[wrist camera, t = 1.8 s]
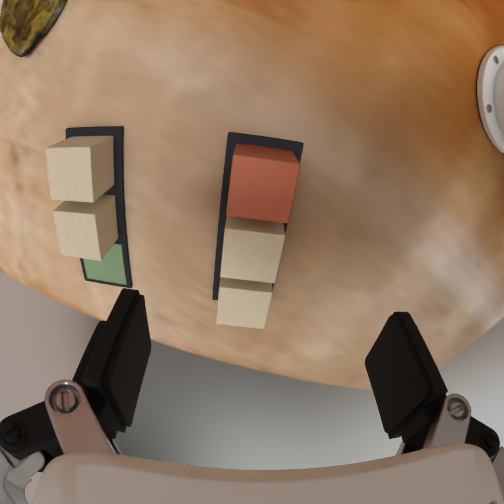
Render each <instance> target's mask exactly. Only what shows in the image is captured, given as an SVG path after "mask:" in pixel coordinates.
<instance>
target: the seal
mask: <svg viewBox="0 0 504 504" xmlns="http://www.w3.org/2000/svg"><path fill="white" fill-rule="evenodd" d="M65 2H66V0H3V4H2V9H1V16H0V32H1V33H2V37H3V39H4V41H5V42H6V44H7V46H8V48H9V50H10V51H11V52H12V53H14V54H15V55H17V56H19V57H23V56H26V55H27V54H28V53H29V51H30V50H31V48H32V47H33V46H34V45H35V44H36V42H37V40H38V39H40V38H41V37H43V36H44V35H45V34H46V33H47V32H48V30H49V29H50V28H51V26H52V25H53V23H54V22H55V20H56V19H57V17H58V16H59V14H60V12H61V10H62V8H63V6H64V4H65Z"/></svg>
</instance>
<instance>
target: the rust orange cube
mask: <svg viewBox="0 0 504 504" xmlns="http://www.w3.org/2000/svg"><path fill="white" fill-rule="evenodd" d="M299 169H300V163H299V162H298V160H297V158H296V156H295V154H294V153H293V151H290V150H284V149H277V148H270V147H263V146H256V145H248V144H240V143H237V144H236V147H235V150H234V154H233V159H232V168H231V176H230V185H229V194H228V203H227V212H226V215H227V216H234V217H242V218H251V219H259V220H266V221H274V222H282V223H288V222H289V217H290V213H291V208H292V203H293V198H294V193H295V188H296V183H297V179H298V174H299Z"/></svg>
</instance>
